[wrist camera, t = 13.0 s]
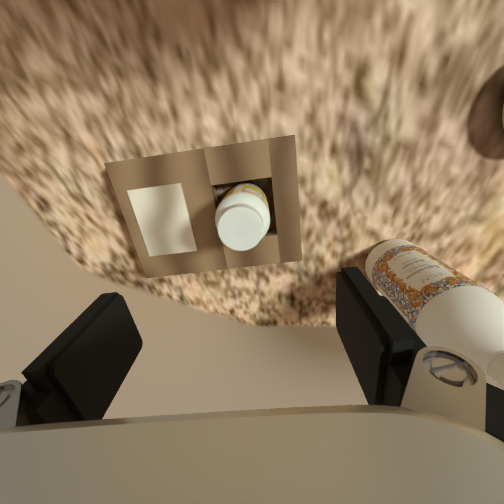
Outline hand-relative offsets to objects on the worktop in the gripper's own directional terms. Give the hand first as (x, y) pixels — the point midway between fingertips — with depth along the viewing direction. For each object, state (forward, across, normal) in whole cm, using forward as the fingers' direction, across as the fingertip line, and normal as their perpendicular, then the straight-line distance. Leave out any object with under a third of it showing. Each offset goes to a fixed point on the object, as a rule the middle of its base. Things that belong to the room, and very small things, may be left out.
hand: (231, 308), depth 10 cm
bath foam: (+21, -18, +10) cm, 29 cm away
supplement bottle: (+21, 0, 0) cm, 21 cm away
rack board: (+20, +4, 0) cm, 21 cm away
